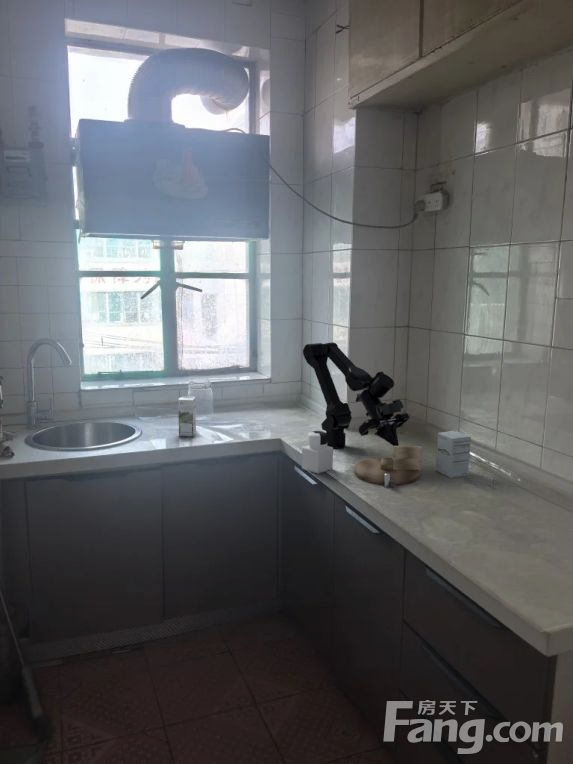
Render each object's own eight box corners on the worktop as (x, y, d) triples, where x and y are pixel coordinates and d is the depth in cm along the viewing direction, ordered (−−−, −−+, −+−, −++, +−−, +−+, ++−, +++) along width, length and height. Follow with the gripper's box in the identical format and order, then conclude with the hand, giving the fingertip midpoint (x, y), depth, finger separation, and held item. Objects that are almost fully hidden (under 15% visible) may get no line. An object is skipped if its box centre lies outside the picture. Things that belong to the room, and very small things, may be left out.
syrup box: (196, 433, 233) (195, 396, 230) (193, 437, 227) (193, 399, 224) (181, 432, 233) (180, 395, 230) (178, 437, 227) (177, 399, 225)
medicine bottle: (316, 463, 198) (317, 428, 196) (333, 469, 193) (334, 432, 191) (301, 468, 193) (301, 432, 191) (317, 474, 188) (318, 436, 186)
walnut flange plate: (357, 486, 177) (358, 457, 176) (351, 462, 198) (352, 436, 197) (428, 487, 177) (429, 458, 175) (414, 463, 198) (415, 437, 196)
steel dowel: (384, 487, 177) (384, 474, 176) (384, 485, 178) (384, 472, 178) (389, 488, 177) (390, 474, 176) (389, 486, 178) (390, 473, 178)
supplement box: (434, 470, 192) (437, 432, 190) (453, 468, 195) (456, 430, 193) (449, 478, 185) (452, 438, 183) (469, 475, 188) (471, 436, 186)
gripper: (366, 395, 189) (390, 437, 182) (407, 388, 200) (431, 428, 193) (348, 414, 196) (371, 456, 190) (388, 407, 207) (411, 446, 201)
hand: (397, 446), depth 193 cm, fingers closed
